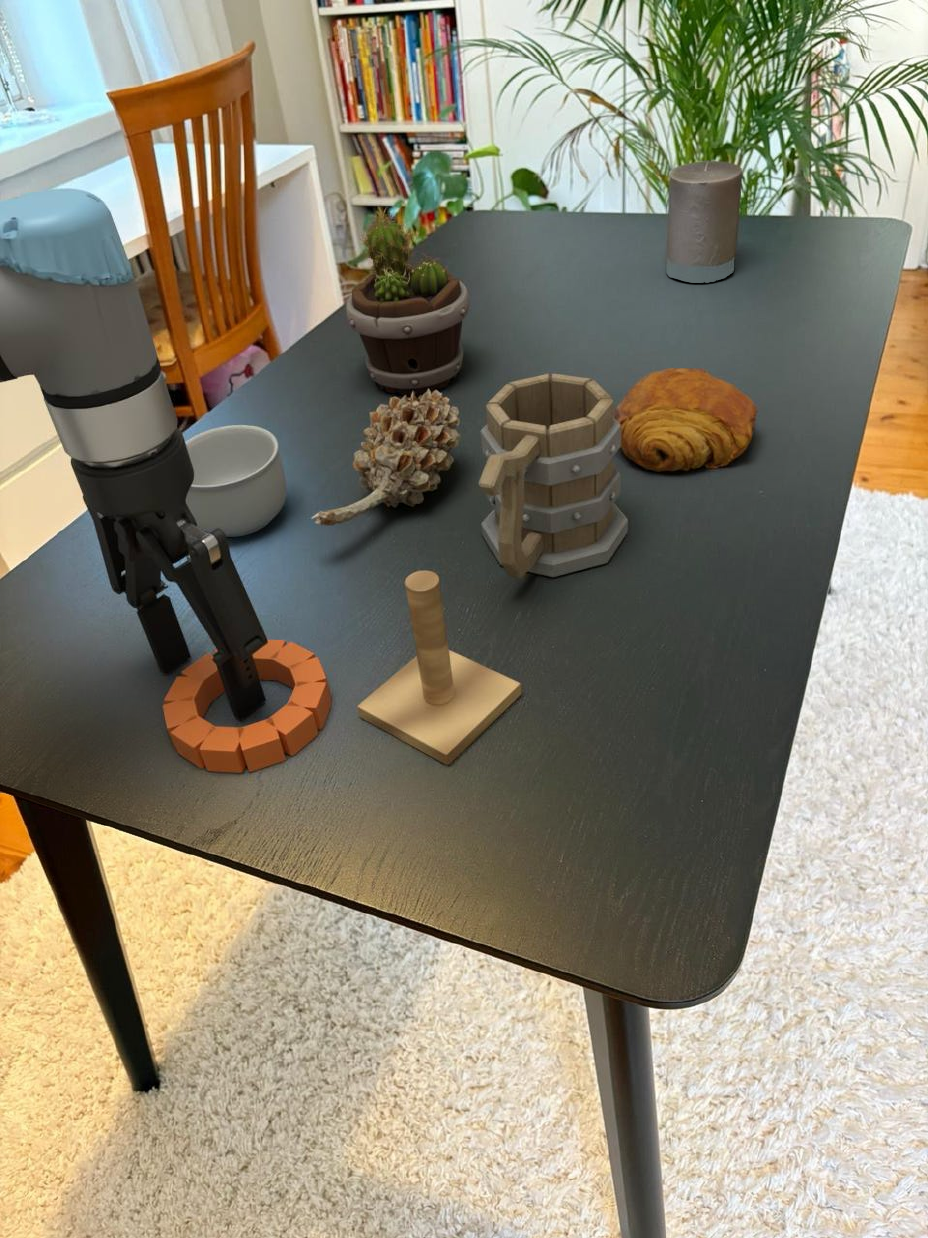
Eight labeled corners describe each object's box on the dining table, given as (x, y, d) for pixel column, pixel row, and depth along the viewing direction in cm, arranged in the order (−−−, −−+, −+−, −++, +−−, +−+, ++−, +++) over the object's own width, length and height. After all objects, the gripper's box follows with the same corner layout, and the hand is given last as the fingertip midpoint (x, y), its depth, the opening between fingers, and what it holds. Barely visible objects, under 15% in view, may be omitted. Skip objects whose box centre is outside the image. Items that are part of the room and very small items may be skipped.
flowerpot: (498, 382, 118) (485, 211, 105) (382, 417, 114) (354, 243, 101) (448, 342, 129) (431, 182, 116) (340, 373, 124) (310, 210, 112)
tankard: (522, 489, 99) (512, 349, 89) (641, 512, 93) (645, 366, 84) (426, 605, 85) (403, 455, 76) (559, 639, 80) (552, 482, 71)
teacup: (315, 504, 100) (299, 435, 95) (246, 561, 93) (226, 490, 88) (214, 478, 106) (195, 411, 101) (143, 530, 99) (118, 461, 94)
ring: (140, 728, 77) (131, 706, 75) (258, 642, 84) (252, 620, 82) (243, 798, 70) (235, 775, 68) (362, 697, 77) (357, 675, 75)
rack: (359, 717, 75) (331, 592, 68) (434, 652, 80) (415, 530, 73) (448, 766, 70) (428, 638, 63) (521, 694, 76) (512, 567, 68)
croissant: (597, 483, 102) (591, 420, 96) (641, 398, 111) (638, 336, 106) (736, 502, 96) (738, 436, 91) (771, 410, 105) (774, 345, 100)
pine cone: (403, 450, 107) (391, 365, 101) (483, 462, 104) (475, 375, 97) (296, 563, 92) (273, 472, 86) (384, 581, 89) (367, 488, 82)
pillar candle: (731, 258, 142) (740, 148, 133) (737, 283, 135) (746, 168, 126) (663, 261, 144) (667, 152, 135) (665, 286, 137) (670, 173, 127)
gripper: (273, 456, 61) (337, 710, 76) (81, 383, 73) (167, 616, 87) (179, 513, 57) (265, 770, 71) (-9, 426, 69) (97, 663, 83)
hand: (211, 685), depth 79 cm, fingers open, 9 cm apart
